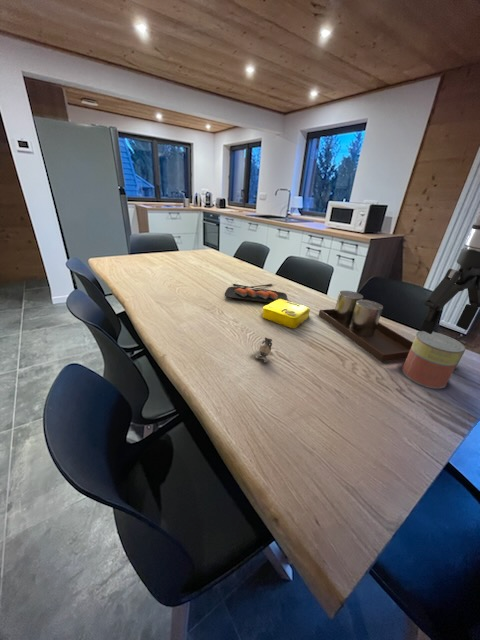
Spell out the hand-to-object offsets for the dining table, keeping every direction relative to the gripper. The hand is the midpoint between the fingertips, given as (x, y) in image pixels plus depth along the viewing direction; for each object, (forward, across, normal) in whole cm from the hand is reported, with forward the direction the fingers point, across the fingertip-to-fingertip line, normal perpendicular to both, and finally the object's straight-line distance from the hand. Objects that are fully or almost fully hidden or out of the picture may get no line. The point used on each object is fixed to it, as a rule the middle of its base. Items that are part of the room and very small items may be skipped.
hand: (444, 329), depth 71 cm
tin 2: (+15, 0, -26) cm, 30 cm away
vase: (+16, +43, -19) cm, 49 cm away
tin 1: (+15, 0, -36) cm, 39 cm away
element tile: (+16, +23, -44) cm, 52 cm away
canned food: (+16, 0, 0) cm, 16 cm away
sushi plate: (+16, +24, -73) cm, 78 cm away
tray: (+16, 0, -25) cm, 29 cm away
